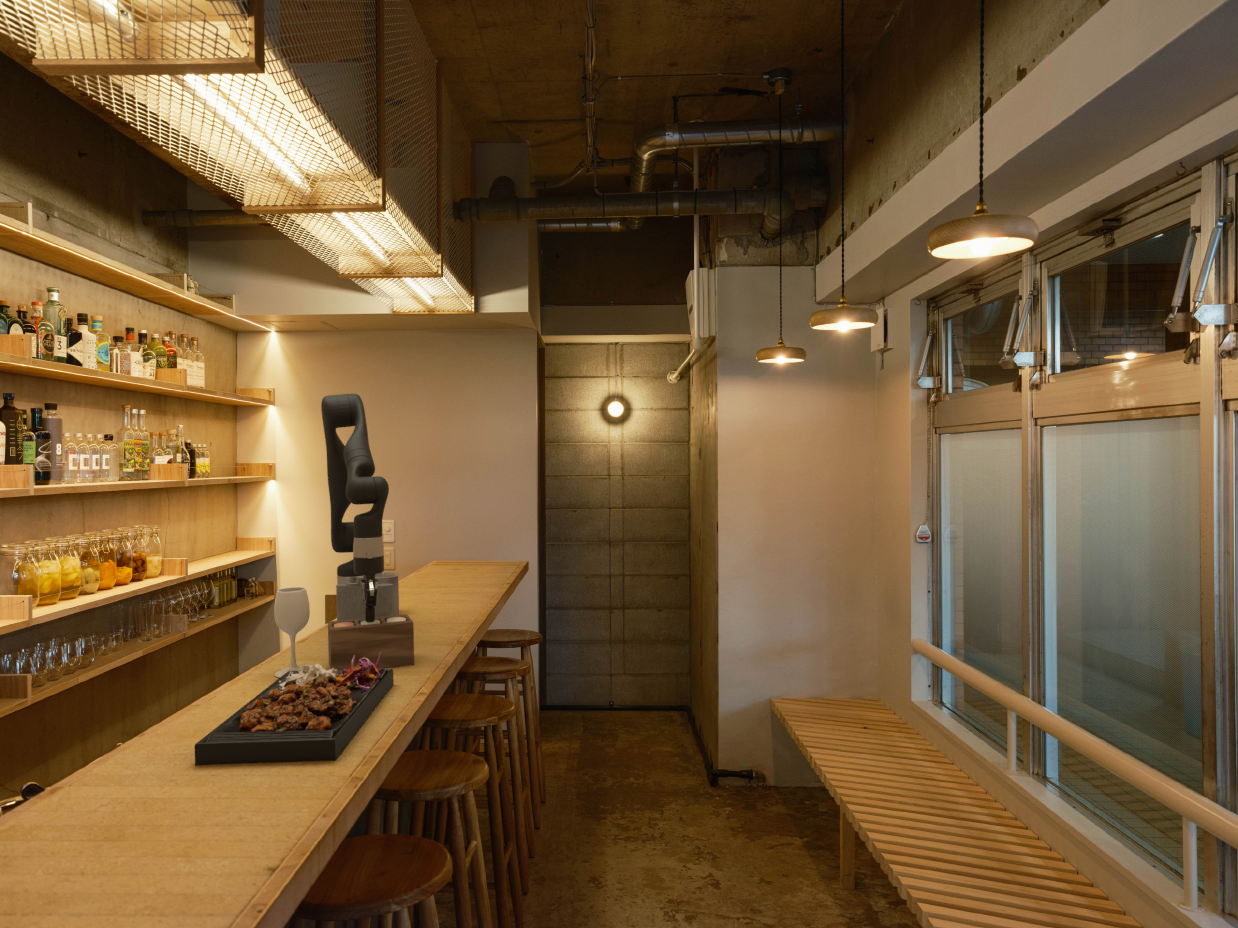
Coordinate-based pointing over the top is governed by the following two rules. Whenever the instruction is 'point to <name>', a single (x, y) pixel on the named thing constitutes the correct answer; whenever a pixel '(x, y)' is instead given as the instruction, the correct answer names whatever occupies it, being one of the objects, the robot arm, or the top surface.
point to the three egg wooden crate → (371, 643)
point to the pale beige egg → (396, 619)
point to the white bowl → (291, 618)
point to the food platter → (299, 717)
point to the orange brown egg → (343, 624)
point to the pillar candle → (393, 579)
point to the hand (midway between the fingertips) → (370, 621)
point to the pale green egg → (370, 622)
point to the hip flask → (353, 604)
